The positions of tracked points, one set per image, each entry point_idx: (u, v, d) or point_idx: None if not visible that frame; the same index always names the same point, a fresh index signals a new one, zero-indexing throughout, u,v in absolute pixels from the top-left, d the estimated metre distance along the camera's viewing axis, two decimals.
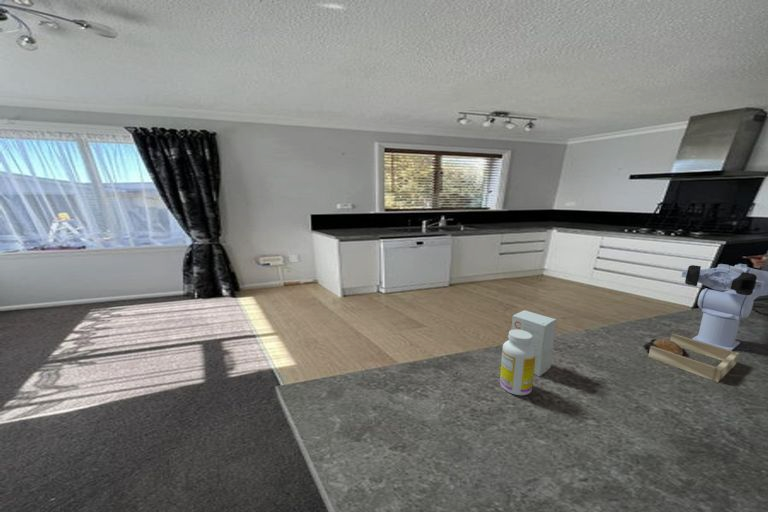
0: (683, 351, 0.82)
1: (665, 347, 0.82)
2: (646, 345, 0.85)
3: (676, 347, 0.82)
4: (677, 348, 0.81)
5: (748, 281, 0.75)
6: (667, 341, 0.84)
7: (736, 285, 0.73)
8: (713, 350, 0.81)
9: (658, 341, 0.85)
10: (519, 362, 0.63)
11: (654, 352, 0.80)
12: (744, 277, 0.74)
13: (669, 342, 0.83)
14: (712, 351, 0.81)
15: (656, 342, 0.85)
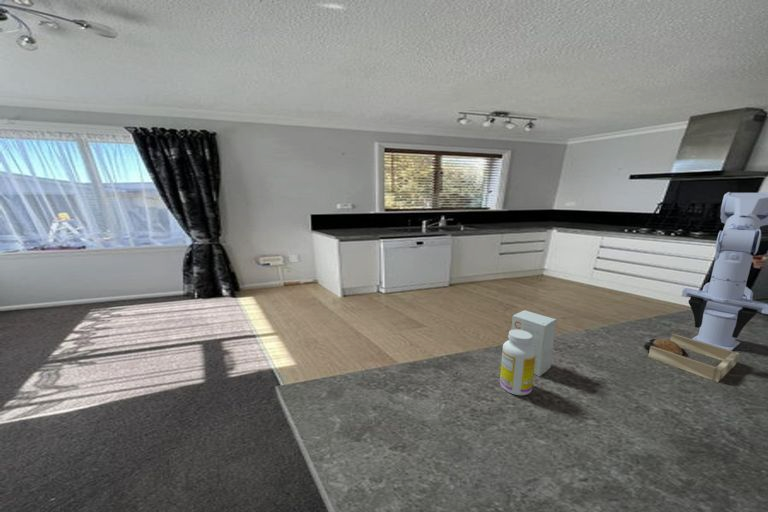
0: (682, 351, 0.83)
1: (665, 347, 0.82)
2: (646, 345, 0.85)
3: (676, 347, 0.82)
4: (677, 348, 0.81)
5: None
6: (667, 341, 0.84)
7: (738, 334, 0.72)
8: (713, 350, 0.81)
9: (658, 341, 0.85)
10: (519, 362, 0.63)
11: (654, 352, 0.80)
12: (742, 323, 0.70)
13: (669, 342, 0.83)
14: (712, 351, 0.81)
15: (656, 342, 0.85)
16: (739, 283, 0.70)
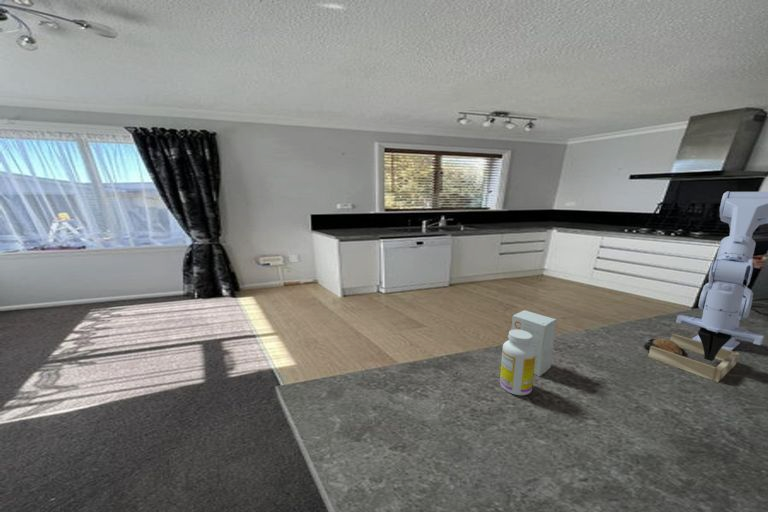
0: (682, 350, 0.83)
1: (665, 346, 0.82)
2: (646, 345, 0.85)
3: (676, 347, 0.82)
4: (677, 348, 0.82)
5: None
6: (667, 341, 0.84)
7: (714, 357, 0.76)
8: None
9: (658, 341, 0.85)
10: (519, 362, 0.63)
11: (654, 352, 0.80)
12: (717, 347, 0.74)
13: (669, 342, 0.83)
14: None
15: (656, 342, 0.85)
16: (731, 313, 0.71)
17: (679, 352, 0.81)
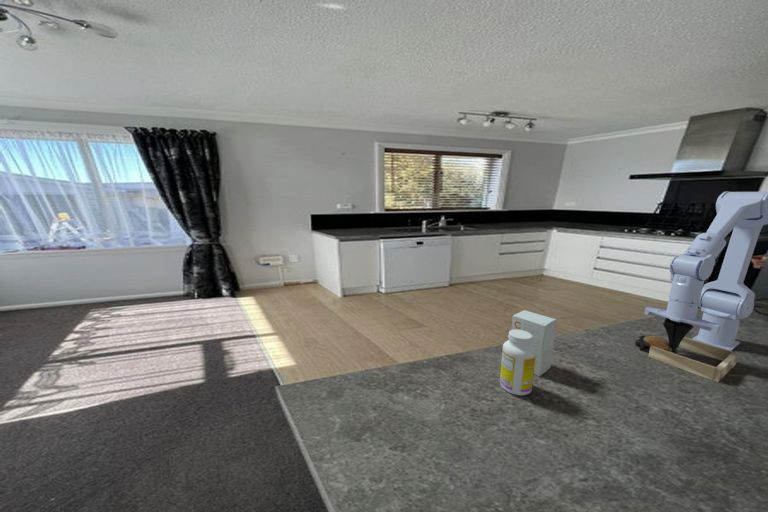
0: None
1: (656, 343, 0.84)
2: (637, 342, 0.87)
3: (666, 343, 0.84)
4: (667, 344, 0.83)
5: None
6: (657, 337, 0.86)
7: (677, 346, 0.82)
8: (713, 350, 0.81)
9: (648, 338, 0.87)
10: (519, 362, 0.63)
11: (654, 352, 0.80)
12: (679, 336, 0.80)
13: (659, 338, 0.85)
14: (712, 351, 0.81)
15: (646, 339, 0.86)
16: (692, 304, 0.77)
17: (669, 348, 0.83)
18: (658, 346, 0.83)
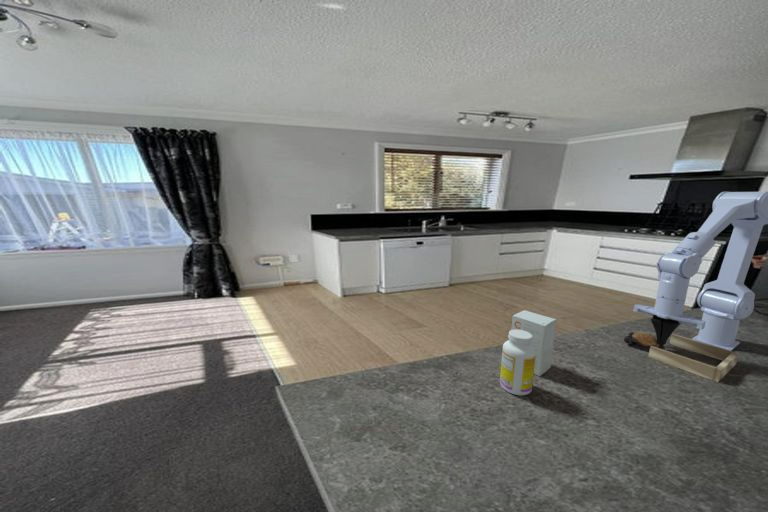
0: None
1: (644, 339, 0.86)
2: (626, 338, 0.89)
3: (653, 339, 0.86)
4: (655, 341, 0.86)
5: None
6: (645, 334, 0.88)
7: (665, 342, 0.84)
8: (713, 350, 0.81)
9: (636, 334, 0.89)
10: (519, 362, 0.63)
11: (654, 352, 0.80)
12: (667, 332, 0.82)
13: (647, 335, 0.87)
14: (712, 351, 0.81)
15: (635, 335, 0.89)
16: (678, 301, 0.79)
17: (656, 344, 0.85)
18: (646, 342, 0.86)
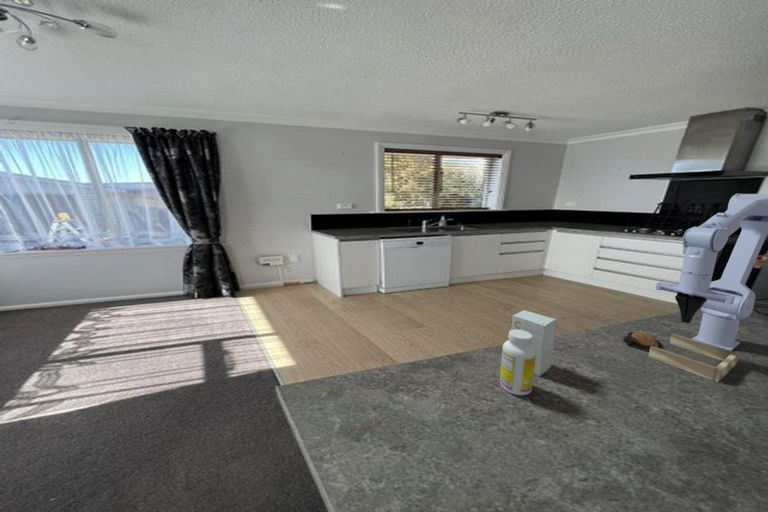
0: (658, 342, 0.87)
1: (643, 339, 0.86)
2: (625, 338, 0.89)
3: (652, 339, 0.86)
4: (654, 340, 0.86)
5: None
6: (644, 334, 0.88)
7: (690, 320, 0.81)
8: (713, 350, 0.81)
9: (636, 334, 0.89)
10: (519, 362, 0.63)
11: (654, 352, 0.80)
12: (692, 310, 0.79)
13: (646, 334, 0.88)
14: (712, 351, 0.81)
15: (634, 335, 0.89)
16: (705, 277, 0.76)
17: (655, 344, 0.85)
18: (645, 342, 0.86)
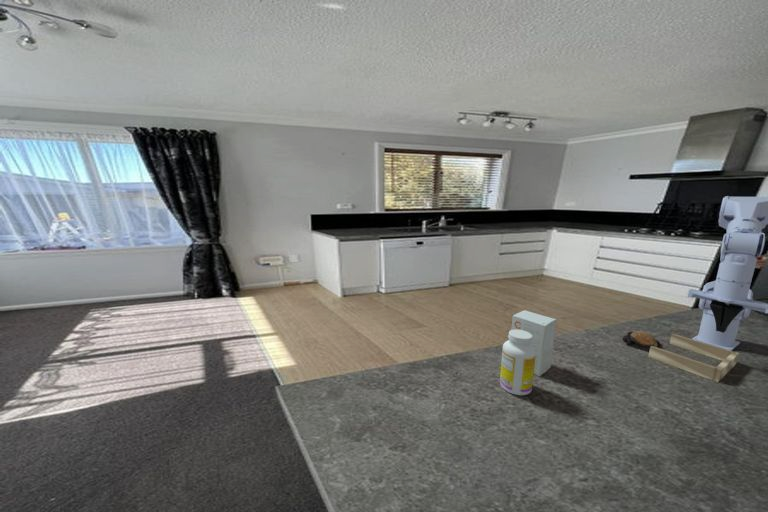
0: (657, 342, 0.87)
1: (642, 339, 0.87)
2: (624, 338, 0.89)
3: (651, 339, 0.86)
4: (653, 340, 0.86)
5: None
6: (643, 333, 0.88)
7: (725, 329, 0.77)
8: (713, 350, 0.81)
9: (635, 334, 0.89)
10: (519, 362, 0.63)
11: (654, 352, 0.80)
12: (729, 318, 0.75)
13: (645, 334, 0.88)
14: (712, 351, 0.81)
15: (633, 335, 0.89)
16: (743, 284, 0.73)
17: (654, 344, 0.85)
18: (644, 341, 0.86)
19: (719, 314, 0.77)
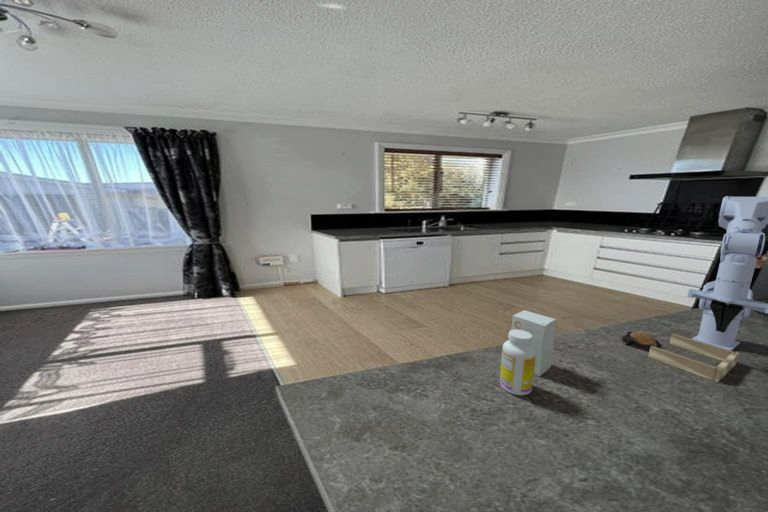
0: (657, 342, 0.88)
1: (641, 338, 0.87)
2: (624, 338, 0.90)
3: (651, 338, 0.86)
4: (652, 340, 0.86)
5: None
6: (642, 333, 0.88)
7: (725, 329, 0.77)
8: (713, 350, 0.81)
9: (634, 333, 0.89)
10: (519, 362, 0.63)
11: (654, 352, 0.80)
12: (729, 318, 0.75)
13: (644, 334, 0.88)
14: (712, 351, 0.81)
15: (633, 334, 0.89)
16: (743, 284, 0.73)
17: (654, 343, 0.86)
18: (643, 341, 0.86)
19: (719, 314, 0.77)
